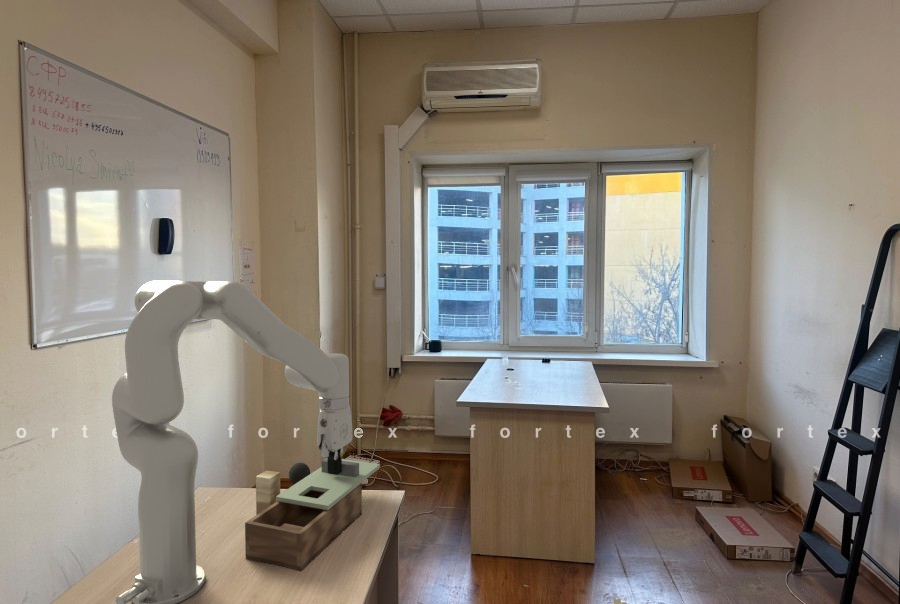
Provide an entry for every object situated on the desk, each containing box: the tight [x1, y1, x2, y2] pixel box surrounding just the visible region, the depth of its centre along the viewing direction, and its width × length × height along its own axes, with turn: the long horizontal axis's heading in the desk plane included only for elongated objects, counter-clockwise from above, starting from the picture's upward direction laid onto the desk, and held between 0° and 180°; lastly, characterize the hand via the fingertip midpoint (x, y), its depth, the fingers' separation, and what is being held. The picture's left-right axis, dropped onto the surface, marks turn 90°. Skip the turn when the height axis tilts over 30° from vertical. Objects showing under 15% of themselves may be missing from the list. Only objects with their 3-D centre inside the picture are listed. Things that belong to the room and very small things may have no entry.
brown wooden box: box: [244, 483, 363, 572], centre depth 118 cm, size 26×14×8 cm, turn 162°
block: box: [255, 470, 281, 516], centre depth 123 cm, size 4×4×12 cm
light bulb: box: [288, 462, 311, 486], centre depth 136 cm, size 6×6×10 cm
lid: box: [276, 457, 381, 510], centre depth 127 cm, size 26×14×4 cm, turn 162°
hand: (334, 472), depth 128 cm, fingers closed
